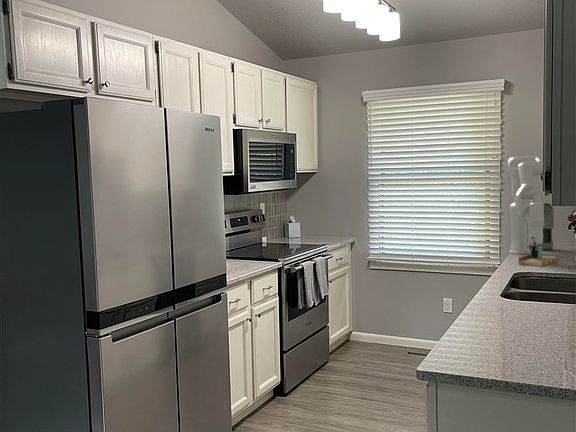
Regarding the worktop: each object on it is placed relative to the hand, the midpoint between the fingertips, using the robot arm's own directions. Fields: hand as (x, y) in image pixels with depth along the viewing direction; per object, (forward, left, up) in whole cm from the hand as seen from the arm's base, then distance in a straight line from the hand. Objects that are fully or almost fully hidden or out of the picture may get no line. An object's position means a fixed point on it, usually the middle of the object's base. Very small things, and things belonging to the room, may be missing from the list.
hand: (536, 256), depth 314 cm
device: (-48, -14, -3) cm, 50 cm away
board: (+2, +2, -3) cm, 4 cm away
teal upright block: (0, 0, -1) cm, 1 cm away
